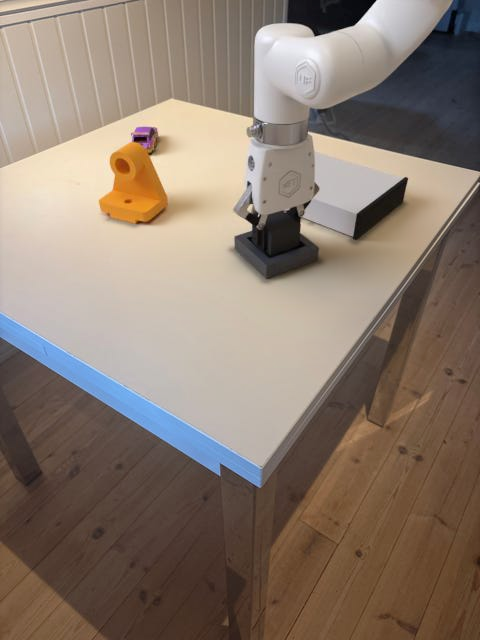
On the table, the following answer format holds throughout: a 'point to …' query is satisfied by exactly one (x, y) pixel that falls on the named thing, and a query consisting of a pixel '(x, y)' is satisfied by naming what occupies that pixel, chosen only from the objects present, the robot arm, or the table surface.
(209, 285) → the table surface
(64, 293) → the table surface
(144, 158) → the bracket
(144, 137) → the toy car
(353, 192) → the disc drive
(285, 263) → the base pad
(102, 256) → the table surface
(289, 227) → the black block
